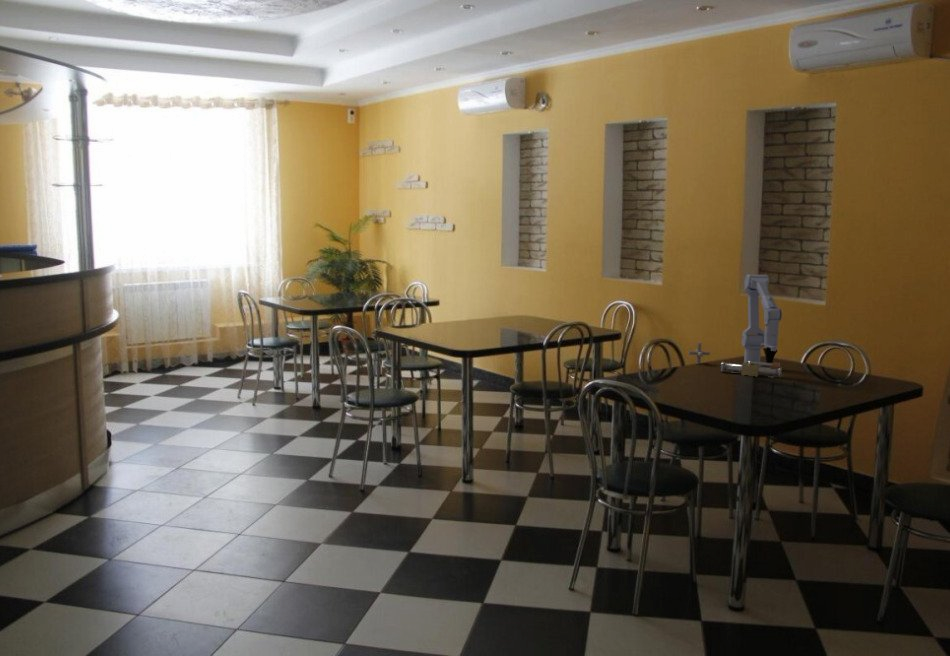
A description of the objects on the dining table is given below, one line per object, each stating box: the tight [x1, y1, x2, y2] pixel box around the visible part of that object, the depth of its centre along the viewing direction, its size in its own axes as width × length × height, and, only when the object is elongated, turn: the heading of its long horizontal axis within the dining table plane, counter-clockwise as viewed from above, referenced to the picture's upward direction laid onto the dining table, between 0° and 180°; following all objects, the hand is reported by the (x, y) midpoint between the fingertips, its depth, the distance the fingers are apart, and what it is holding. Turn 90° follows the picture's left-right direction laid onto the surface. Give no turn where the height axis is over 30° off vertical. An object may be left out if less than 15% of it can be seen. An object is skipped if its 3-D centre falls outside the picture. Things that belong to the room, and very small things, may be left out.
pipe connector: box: [687, 342, 711, 364], centre depth 413 cm, size 10×10×10 cm
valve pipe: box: [720, 361, 783, 379], centre depth 388 cm, size 6×26×5 cm, turn 63°
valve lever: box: [748, 360, 781, 368], centre depth 385 cm, size 14×3×1 cm, turn 65°
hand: (769, 364), depth 388 cm, fingers closed
